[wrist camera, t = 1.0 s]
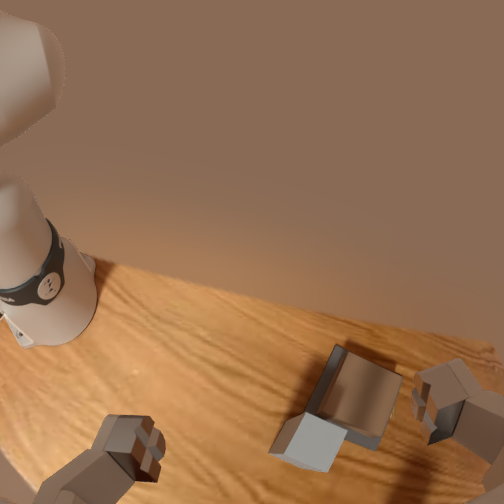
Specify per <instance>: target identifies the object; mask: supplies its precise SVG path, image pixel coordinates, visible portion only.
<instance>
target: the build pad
mask: <svg viewBox="0 0 504 504" xmlns="http://www.w3.org/2000/svg"><path fill="white" fill-rule="evenodd" d="M348 352H349V351H347V350H345V349H343V348H341V347H339V346H337V345H335V347H334V349H333V351H332V354H331V356H330V358H329V360H328V362H327V365H326V367H325V369H324V371H323V373H322V375H321V377H320V380H319V382H318V384H317V386H316V388H315V390H314V392H313V394H312V396H311V398H310V400H309V402H308V404H307V406H306V408H305V410H304V412H303V413H305V412H307V413H309V414H311V415H314V416H316V417H318V418H320V419H322V420H325V421H327V422H329V423H331V424H334V425H336V426H338V427H341V428H343V429H345V430H348V431H347V433H346V436H345V438H344V439H345V440H348V441H350V442H353V443H355V444H358V445H360V446H363V447H365V448H368V449H371V450H373V451H376V450H377V447H378V445H379V442H380V440H381V438H382V436H380V437H374V438H370V437H368V436H365V435H363V434H360V433H358V432H355V431H353V430H351V429H348V428H346V427H343V426H341V425H339V424H337V423H334V422H332V421H330V420H327V419H325V418H323V417H321V416H319V415H316V412H317V410H318V407H319V405H320V403H321V401H322V399H323V397H324V395H325V393H326V391H327V389H328V386H329V384H330V382H331V380H332V378H333V375H334V373H335V371H336V369H337V366H338V364H339V362H340V359H341V358H342V357H343V356H344V355H345V354H346V353H348ZM355 355H356V354H355ZM357 356H358V355H357ZM359 357H360V356H359ZM361 358H362V357H361ZM363 359H364V358H363ZM365 360H366V359H365ZM367 361H368V360H367ZM380 367H381V366H380ZM382 368H383V367H382ZM384 369H385V368H384ZM386 370H387V369H386ZM388 371H389V370H388ZM397 375H398V374H397ZM399 376H400V375H399ZM401 377H402V376H401ZM402 380H403V378H402ZM401 383H402V381H401ZM400 386H401V384H400ZM399 389H400V387H399ZM398 392H399V390H398ZM397 395H398V393H397ZM396 398H397V396H396ZM395 401H396V399H395ZM395 401H394V404H395ZM394 404H393V406H394ZM392 409H393V407H392ZM391 412H392V410H391ZM390 415H391V413H390ZM390 415H389V417H390ZM388 420H389V418H388ZM387 423H388V421H387ZM387 423H386V425H387ZM385 428H386V426H385ZM385 428H384V430H385ZM383 433H384V431H383ZM383 433H382V435H383Z"/></svg>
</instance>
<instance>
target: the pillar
mask: <svg viewBox="0 0 504 504" xmlns="http://www.w3.org/2000/svg"><path fill="white" fill-rule="evenodd" d="M347 431H348V430H345V429H343V428H341V427H338V426H336V425H334V424H331V423H329V422H327V421H325V420H322V419H320V418H318V417H316V416H314V415H311V414H309V413H307V412H305V413H303V414H301V415H299V416H296V417H294V418H292V419H290V420H287V421H286V422H285V424H284V426H283V428H282V430H281V431H280V433H279V435H278V437H277V439H276V440H275V442H274V444H273V446H272V447H271V449H270V451H269V454H271V455H273V456H275V457H277V458H279V459H282V460H284V461H286V462H288V463H291V464H293V465H295V466H298V467H300V468H302V469H308V470H314V471H320V472H328V470H329V468H330V466H331V464H332V462H333V461H334V459H335V456H336V454H337V452H338V450H339V448H340V446H341V444H342V442H343V440H344V438H345V436H346V433H347Z"/></svg>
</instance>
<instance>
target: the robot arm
mask: <svg viewBox="0 0 504 504" xmlns="http://www.w3.org/2000/svg"><path fill="white" fill-rule="evenodd" d="M65 76H66V63H65V57H64V53H63V50H62V47H61V45H60V43H59V41H58V40H57V38H56V37H55V36H54V34H52V32H51V31H49V30H48V29H47V28H46V27H44V26H42V25H40V24H38V23H36V22H32V21H27V20H23V19H20V18H17V17H14V16H12V15H10V14H8V13H6V12H4V11H3V10H1V9H0V148H1V147H2V146H4V145H6V144H7V143H9V142H11V141H13V140H14V139H16V138H18V137H19V136H20V135H21V134H23V133H24V132H25V131H27V130H28V129H29V128H31V127H32V126H33V125H35V124H36V123H37V122H38V121H40V120H41V119H42V118H44V117H45V116H46V115H47V114H49V113H50V112H51V111H53V110H54V109H55V108H56V105H57V104H58V101H59V99H60V97H61V94H62V91H63V88H64V83H65ZM95 268H96V263H95V261H94V260H93V258H92V257H90V256H88V255H85V254H83V253H80V252H79V251H78V249H77V248H76V246H75V245H74V243H73V242H72V241H71V240H66V239H65V238H62V237H60V236H59V234H58V232H57V230H56V229H55V227H54V226H53V225H52V224H51V222H50V221H49V220H48V219H46V218H45V217H44V215H43V213H42V211H41V209H40V207H39V205H38V203H37V201H36V199H35V197H34V195H33V193H32V191H31V188H30V187H29V185H28V184H27V183H26V182H25V181H24V180H23V179H21V178H20V177H18V176H16V175H15V174H12V173H9V172H6V171H0V313H1V314H3V315H4V317H5V319H6V321H7V322H8V324H9V326H10V328H11V330H12V332H13V334H14V336H15V338H16V339H17V341H18V343H19V344H20V345H21V346H22V347H23V348H25V349H28V348H31V347H34V346H37V345H49V346H54V345H60V344H64V343H67V342H69V341H71V340H72V339H74V338H75V337H77V336H78V335H79V334H80V333H81V332H82V331H83V330H84V329H85V328H86V327H87V325H88V324H89V322H90V320H91V319H92V316H93V314H94V311H95V308H96V303H97V291H96V286H95V282H94V273H95ZM21 334H23V335H22V336H21ZM413 383H414V385H415V389H414V390H413V391H412V394H411V404H412V410H413V413H414V416H415V418H416V420H418V421H420V422H422V426H421V432H422V434H423V437H424V439H425V441H426V444H427V446H428V445H431V444H434V443H437V442H439V441H442V440H445V439H448V438H450V437H452V439H454V440H455V441H457V442H458V443H460V444H461V445H463V446H464V447H466V448H467V449H469V450H470V451H472V452H473V453H475V454H476V455H478V456H479V457H481V458H482V459H484V460H485V461H487V462H488V463H490V464H491V467H490V468H489V470H488V471H487V473H486V474H485V475H484V477H483V479H482V483H483V485H484V488H485V490H486V493H484V494H482V495H480V496H478V497H476V498H474V499H472V500H470V501H468V502H465V503H463V504H504V396H502V395H499V394H497V393H495V392H492V391H490V390H486V391H484V390H483V389H482V387H481V386H480V384H479V383H478V381H477V380H476V379H475V377H474V376H473V374H472V373H471V372H470V370H469V369H468V367H467V366H466V365H465V363H464V362H463V360H462V359H460V358H457V359H454V360H451V361H449V362H446V363H442V364H440V365H437V366H434V367H431V368H429V369H426V370H423V371H420V372H417V373H415V375H414V379H413ZM153 426H154V421H153V420H152V418H151V417H150V416H139V415H112V414H109V415H107V416H106V417H105V419H104V421H103V423H102V425H101V427H100V430H99V432H98V434H97V436H96V438H95V441H94V443H93V445H92V447H91V449H87V450H85V451H84V452H83V453H81V454H80V455H79V456H77V457H76V458H75V459H73V460H72V461H71V462H69V463H68V464H67V465H65V466H64V467H63V468H61V469H60V470H59V471H57V472H56V473H55V474H53V475H52V476H50V477H49V478H48V479H46V480H45V481H44V482H43V483H42V485H41V487H40V489H39V491H38V493H37V495H36V498H35V500H34V502H33V504H116V503H117V502H118V500H119V499H120V498H121V497H122V496H123V495H124V494H125V493H126V492H127V491H128V490H129V489H130V488H131V486H132V485H133V484H134V483H135V481H139V482H154V483H157V482H158V478H159V474H160V470H161V466H160V464H159V462H158V461H160V460H161V459H162V458H163V457H164V454H165V450H166V447H165V439H164V436H163V434H162V433H161V431H160V430H158V429H156V428H155V427H153ZM0 504H17V503H15V502H13V501H11V500H9V499H7V498H5V497H3V496H1V495H0Z"/></svg>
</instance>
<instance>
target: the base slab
mask: <svg viewBox="0 0 504 504" xmlns="http://www.w3.org/2000/svg"><path fill="white" fill-rule="evenodd" d="M402 378H403V377H401V376H399V375H397V374H395V373H393V372H391V371H388V370H386V369H384V368H382V367H380V366H378V365H376V364H374V363H372V362H370V361H367V360H365V359H363V358H361V357H359V356H357V355H355V354H353V353H351V352H348V353H346V354H345V355H344V356H343V357H342V358H341V359H340V362H339V364H338V366H337V369H336V371H335V373H334V375H333V378H332V380H331V382H330V384H329V386H328V389H327V391H326V393H325V395H324V397H323V399H322V401H321V403H320V405H319V407H318V410H317V412H316V415H319V416H321V417H323V418H325V419H327V420H330V421H332V422H334V423H337V424H339V425H341V426H343V427H346V428H348V429H351V430H353V431H355V432H358V433H360V434H363V435H365V436H368V437H370V438H374V437H380V436H382V433H383V431H384V428H385V426H386V423H387V421H388V418H389V415H390V413H391V410H392V407H393V404H394V401H395V399H396V396H397V393H398V390H399V387H400V384H401V381H402Z"/></svg>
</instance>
